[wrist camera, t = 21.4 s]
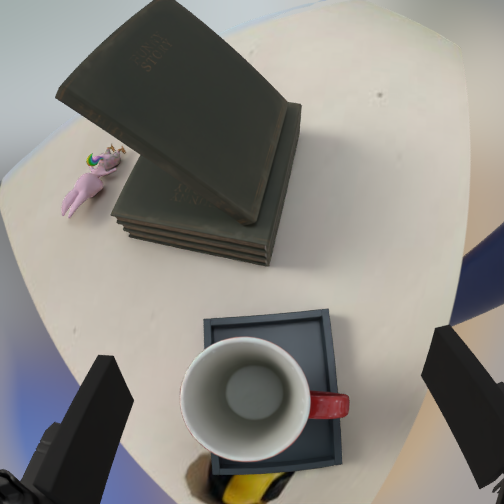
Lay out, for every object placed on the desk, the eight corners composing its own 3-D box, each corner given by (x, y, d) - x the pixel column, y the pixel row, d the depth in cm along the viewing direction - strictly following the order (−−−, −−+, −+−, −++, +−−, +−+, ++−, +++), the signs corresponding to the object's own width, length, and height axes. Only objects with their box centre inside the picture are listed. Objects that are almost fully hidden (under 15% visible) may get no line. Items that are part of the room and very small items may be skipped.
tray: (324, 313, 35) (328, 308, 33) (337, 458, 28) (342, 464, 26) (207, 323, 35) (203, 318, 33) (216, 468, 28) (212, 474, 26)
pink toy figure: (109, 155, 49) (58, 219, 41) (99, 129, 44) (41, 194, 36) (135, 160, 48) (83, 229, 40) (126, 133, 43) (66, 202, 35)
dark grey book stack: (268, 267, 38) (263, 97, 15) (128, 237, 40) (25, 104, 18) (300, 133, 46) (309, -14, 23) (185, 120, 49) (149, -9, 26)
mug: (206, 422, 30) (168, 445, 18) (221, 346, 34) (192, 325, 21) (319, 440, 29) (349, 473, 16) (333, 362, 32) (370, 351, 20)
